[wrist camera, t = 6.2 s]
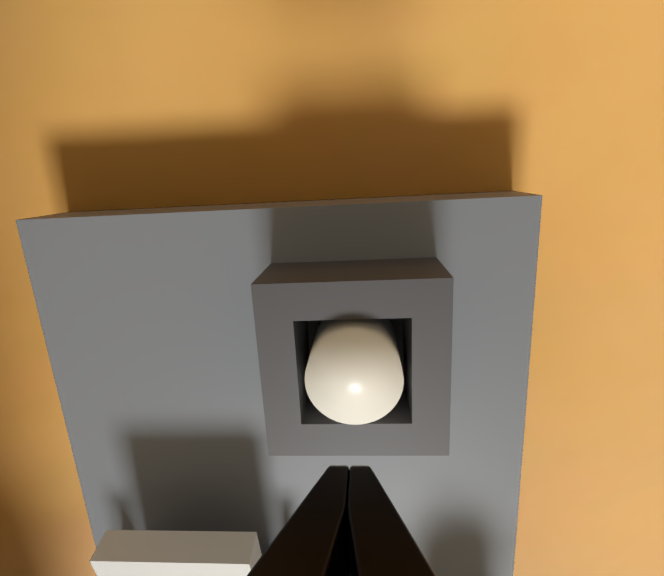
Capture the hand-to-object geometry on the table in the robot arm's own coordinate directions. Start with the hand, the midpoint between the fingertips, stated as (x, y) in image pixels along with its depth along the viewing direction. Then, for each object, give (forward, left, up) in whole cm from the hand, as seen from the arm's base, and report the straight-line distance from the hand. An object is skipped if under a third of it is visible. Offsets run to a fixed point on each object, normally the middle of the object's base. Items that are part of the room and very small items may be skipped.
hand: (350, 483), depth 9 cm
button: (0, 0, -7) cm, 7 cm away
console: (-7, +3, -11) cm, 13 cm away
